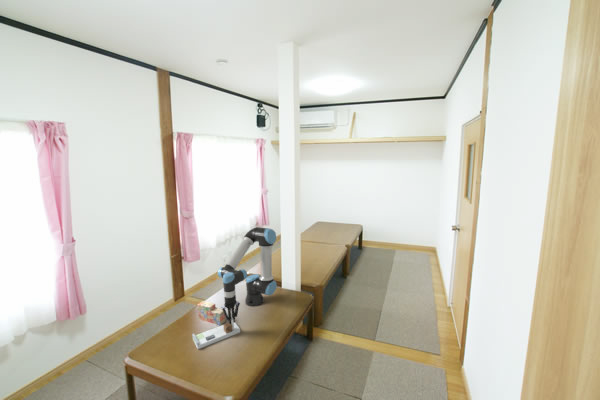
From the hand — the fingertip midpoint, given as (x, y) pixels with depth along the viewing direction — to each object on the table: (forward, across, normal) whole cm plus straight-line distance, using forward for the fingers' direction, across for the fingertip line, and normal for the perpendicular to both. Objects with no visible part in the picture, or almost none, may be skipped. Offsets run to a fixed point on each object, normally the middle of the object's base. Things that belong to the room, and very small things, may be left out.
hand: (232, 327), depth 193 cm
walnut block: (+2, +3, 0) cm, 3 cm away
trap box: (+4, +10, -3) cm, 11 cm away
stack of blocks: (+4, +6, -24) cm, 26 cm away
